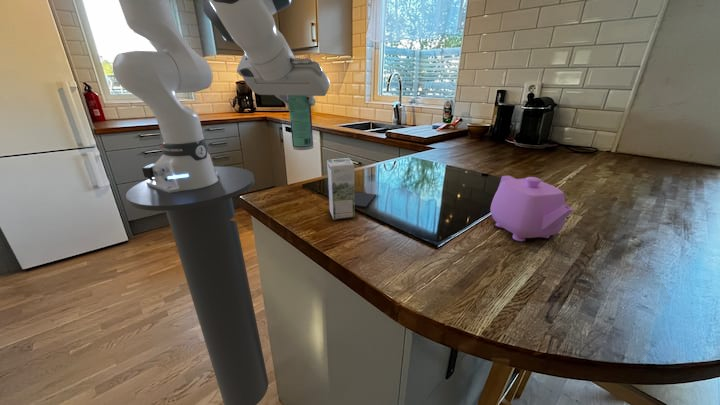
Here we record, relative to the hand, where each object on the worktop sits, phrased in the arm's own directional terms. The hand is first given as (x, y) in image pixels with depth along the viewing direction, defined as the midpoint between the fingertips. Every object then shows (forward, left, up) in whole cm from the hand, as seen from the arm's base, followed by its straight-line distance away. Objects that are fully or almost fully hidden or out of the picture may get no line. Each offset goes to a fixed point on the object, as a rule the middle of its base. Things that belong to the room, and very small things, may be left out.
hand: (300, 103), depth 76 cm
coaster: (+13, +5, -27) cm, 30 cm away
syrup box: (+13, -6, -27) cm, 31 cm away
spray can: (0, -1, -12) cm, 12 cm away
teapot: (+56, 0, -27) cm, 62 cm away
